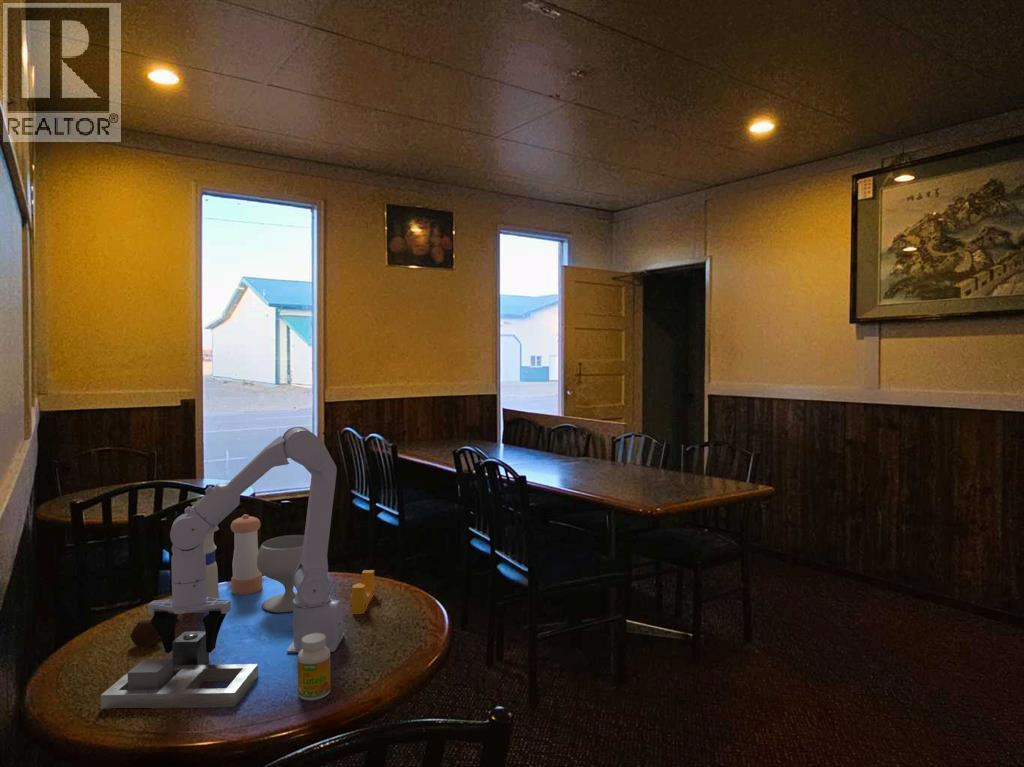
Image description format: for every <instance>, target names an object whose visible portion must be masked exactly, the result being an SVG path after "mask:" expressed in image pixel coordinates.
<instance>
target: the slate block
mask: <svg viewBox="0 0 1024 767" xmlns="http://www.w3.org/2000/svg"><path fill="white" fill-rule="evenodd" d="M127 673H128V690H159V689H161V688H162V687H164V686H165V685H166V684H167V683H168V682H169V681H170V680H171V679H172V678H173V657H172V658H169V657H168V658H164V657H163V658H143V659H142V660H141V661H140V662H139V663H137V664H136V665H134V667H132V668H131V669H130V670H129V671H128V672H127Z"/></svg>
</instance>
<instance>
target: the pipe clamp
mask: <svg viewBox="0 0 1024 767" xmlns="http://www.w3.org/2000/svg"><path fill="white" fill-rule="evenodd" d="M375 584H376V582H375V569H369V570H368V569H363V571H362V572H361V582H359V583H358V582H357V583H355V584H353V585H352V587H351V595H350V598H349V599H350V605H351V604H352V606H351V610H352V611H351V614H360V613H364V612H365V610H366V608H367V606H368V604H369V602H370V600H371V598H372V597H373V595H374V593H375V594H376V592H375V591H376V590H375V587H376V586H375ZM373 598H374V597H373ZM368 607H369V606H368ZM367 609H368V608H367ZM366 611H367V610H366ZM365 613H366V612H365ZM365 613H364V614H365Z"/></svg>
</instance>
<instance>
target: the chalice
mask: <svg viewBox="0 0 1024 767" xmlns="http://www.w3.org/2000/svg"><path fill="white" fill-rule="evenodd" d="M304 535H305V534H289V535H281V536H276V537H272V538H270V539H269V538H268V539H266V540H265V541H263V542H262V543H261V545H260V546H259V548H258V550H259V552H258V557H257V568H258V570H259V571H260V572H261V574H262V576H264V577H265V578H269V579H271V580H274V581H277V582H278V583H280V584H282V586H283V587H284V593H282V594H281V593H280V594H277V595H275V596H272V597H270V598H268V599H266V600H265V601H264V602H263V603H262V604H261V608H262V609H263V610H265V611H266V612H270V613H289V612H293V599H294V598H295V597H296V595H297V591H295V592H294V587H295V586H294V584H293V574H294V572H295V570H296V569H297V567H298V565H299V562H300V556H301V554H302V551H303V543H304Z"/></svg>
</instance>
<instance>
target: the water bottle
mask: <svg viewBox="0 0 1024 767" xmlns="http://www.w3.org/2000/svg"><path fill="white" fill-rule="evenodd" d="M200 499H201V498H199V497H197V498H196V501H193V502H190V504H191V505H192V506H193V505H194V504H195V503H196V502H198V501H199V500H200ZM219 530H220V528H219V526H218V525H217V526H215V527H214V528H213V529H211V530H208V531H207V532H206V537H205V540H204V551H205V553H206V597H209V598H216V599H220V594H219V593H220V592H219V578H218V577H219V574H218V570H219V569H218V565H217V561H216V550H217V545H216V544H215V541H214V535H215V532H217V531H219Z"/></svg>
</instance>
